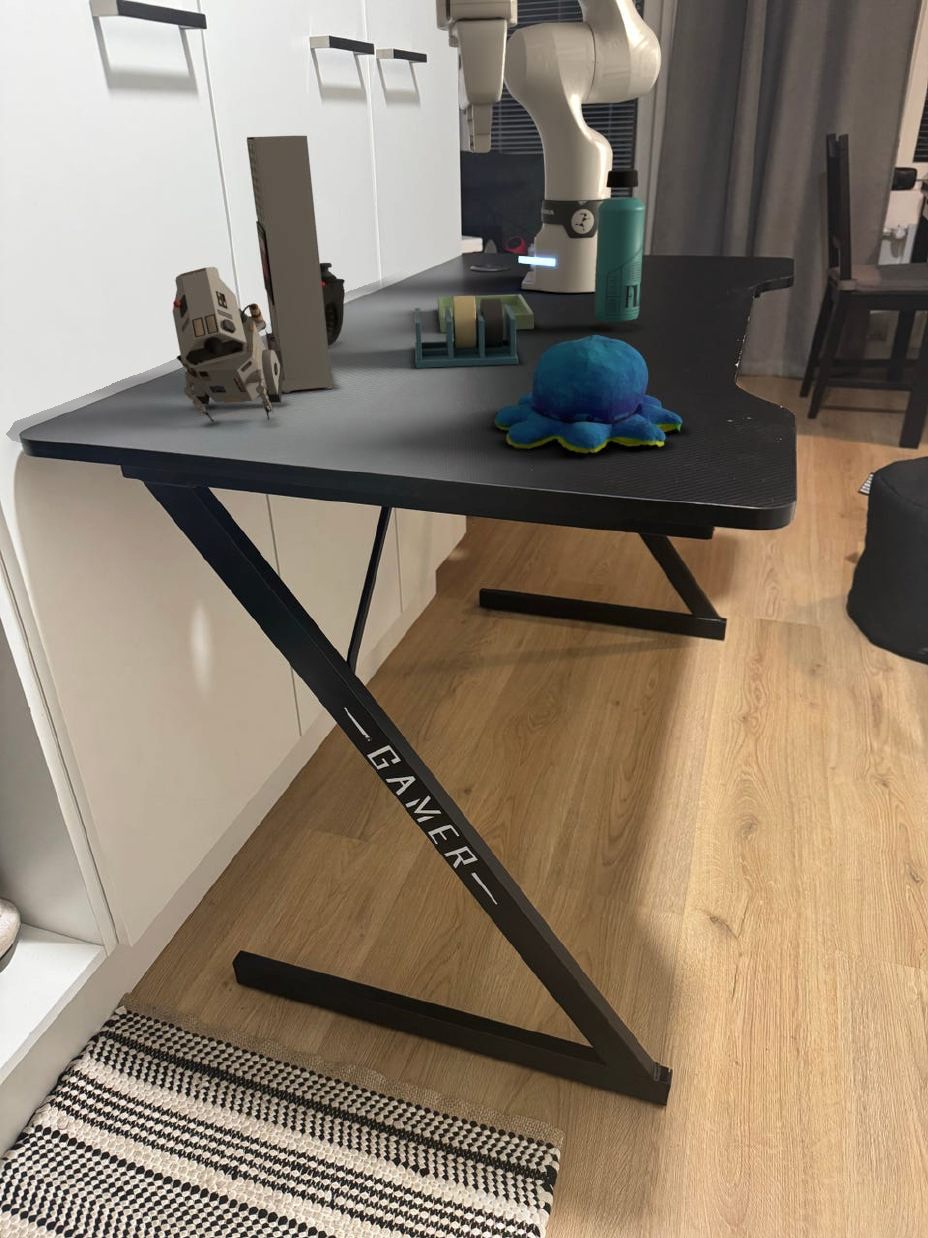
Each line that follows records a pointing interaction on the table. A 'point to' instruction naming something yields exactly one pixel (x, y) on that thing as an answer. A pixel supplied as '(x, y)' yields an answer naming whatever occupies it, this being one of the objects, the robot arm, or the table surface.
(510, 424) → the plush toy
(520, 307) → the tray
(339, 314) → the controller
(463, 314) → the masking tape
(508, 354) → the tape rack
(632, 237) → the beverage bottle
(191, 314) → the figurine
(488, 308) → the vinyl tape
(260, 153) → the tall beige panel
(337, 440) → the table surface
